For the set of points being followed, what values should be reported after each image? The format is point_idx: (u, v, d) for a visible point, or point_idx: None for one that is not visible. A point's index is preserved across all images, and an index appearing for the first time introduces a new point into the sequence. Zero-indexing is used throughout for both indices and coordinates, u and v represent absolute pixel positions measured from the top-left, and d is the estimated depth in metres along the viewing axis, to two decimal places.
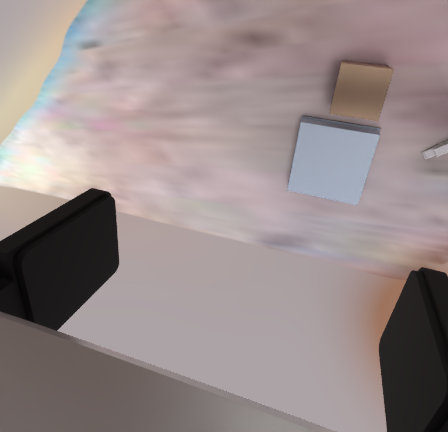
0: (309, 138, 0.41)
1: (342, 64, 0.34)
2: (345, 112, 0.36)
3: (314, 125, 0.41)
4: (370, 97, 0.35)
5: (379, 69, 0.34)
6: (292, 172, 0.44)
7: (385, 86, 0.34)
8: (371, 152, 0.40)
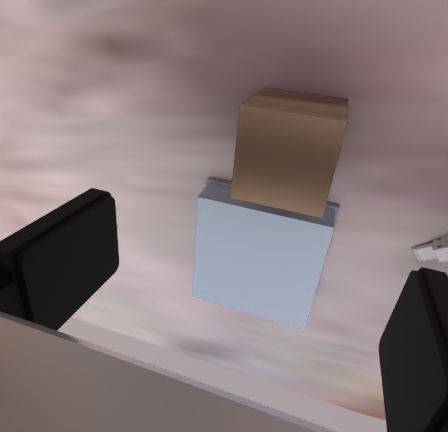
0: (215, 223, 0.24)
1: (243, 108, 0.16)
2: (259, 198, 0.18)
3: (220, 203, 0.23)
4: (305, 173, 0.17)
5: (317, 120, 0.16)
6: (196, 272, 0.26)
7: (332, 155, 0.16)
8: (321, 254, 0.22)
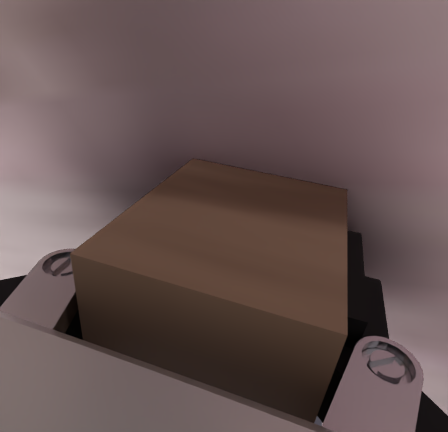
0: None
1: (77, 260, 0.06)
2: None
3: None
4: None
5: (263, 318, 0.06)
6: None
7: (306, 394, 0.06)
8: None
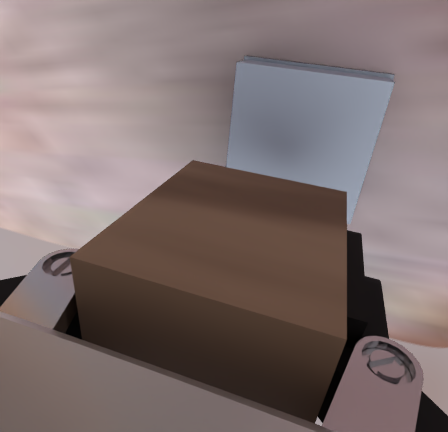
0: (255, 94, 0.21)
1: (77, 264, 0.06)
2: None
3: (263, 67, 0.20)
4: None
5: (262, 322, 0.06)
6: (229, 162, 0.24)
7: (305, 397, 0.06)
8: (376, 120, 0.20)
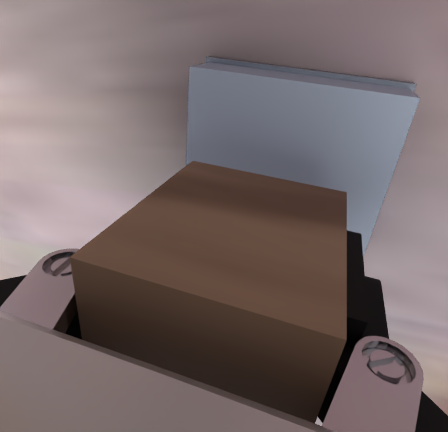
0: (217, 112, 0.15)
1: (77, 264, 0.06)
2: None
3: (226, 74, 0.14)
4: None
5: (262, 323, 0.06)
6: None
7: (305, 398, 0.06)
8: (391, 152, 0.13)
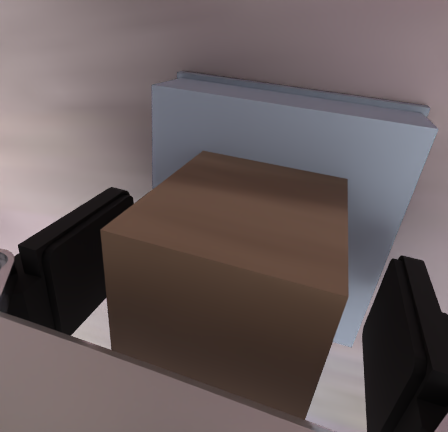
0: (187, 140, 0.12)
1: (107, 236, 0.07)
2: None
3: (196, 95, 0.11)
4: (253, 374, 0.08)
5: (274, 284, 0.06)
6: None
7: (311, 354, 0.07)
8: (401, 194, 0.11)
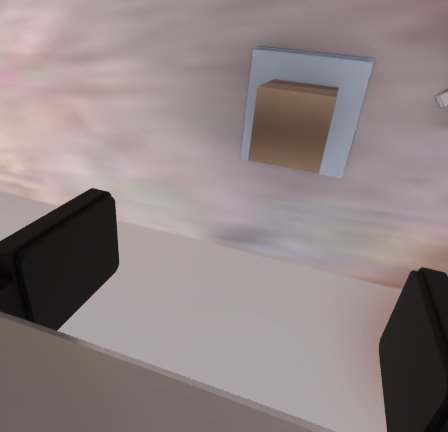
0: (266, 74, 0.27)
1: (259, 88, 0.22)
2: (270, 159, 0.24)
3: (273, 53, 0.26)
4: (305, 138, 0.23)
5: (315, 97, 0.21)
6: (245, 131, 0.30)
7: (326, 123, 0.22)
8: (361, 92, 0.26)
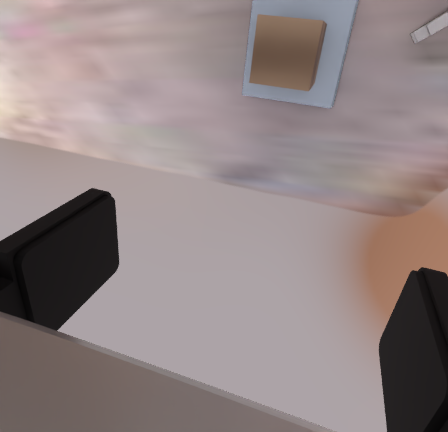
0: (265, 14, 0.31)
1: (259, 16, 0.26)
2: (268, 80, 0.28)
3: None
4: (297, 59, 0.27)
5: (305, 21, 0.26)
6: (247, 68, 0.34)
7: (314, 44, 0.26)
8: (346, 27, 0.30)
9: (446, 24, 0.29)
